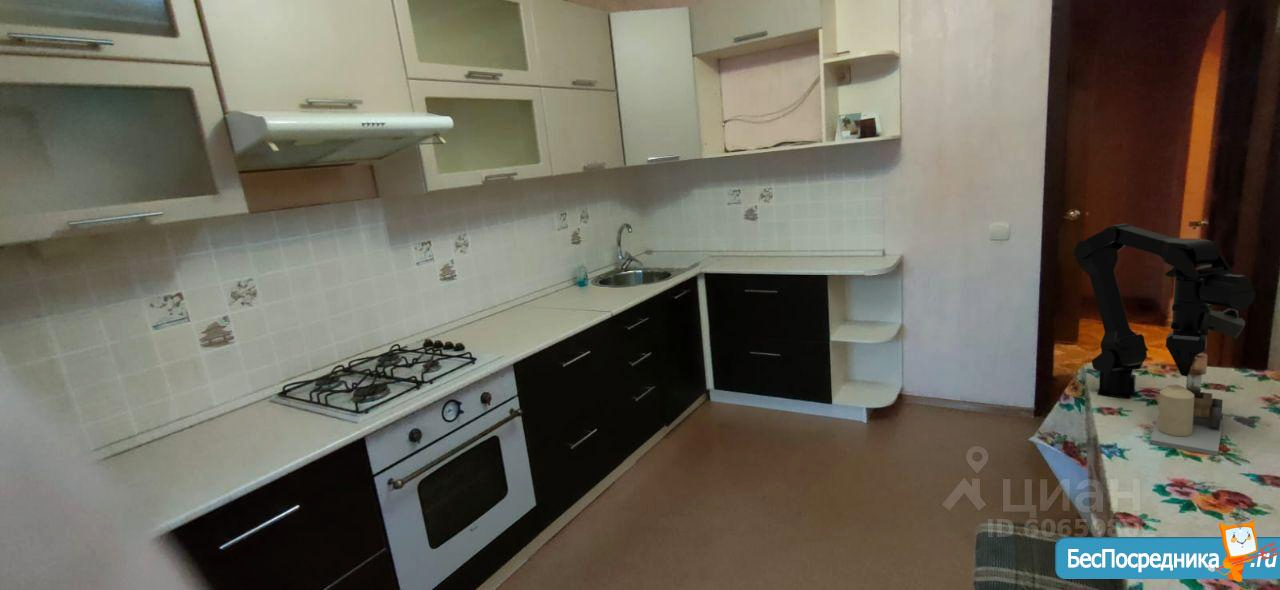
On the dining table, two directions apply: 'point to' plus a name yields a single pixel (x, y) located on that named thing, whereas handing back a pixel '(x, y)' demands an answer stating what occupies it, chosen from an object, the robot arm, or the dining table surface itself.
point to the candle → (1176, 411)
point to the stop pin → (1197, 373)
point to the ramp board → (1191, 438)
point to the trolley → (1208, 409)
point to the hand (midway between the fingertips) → (1186, 368)
